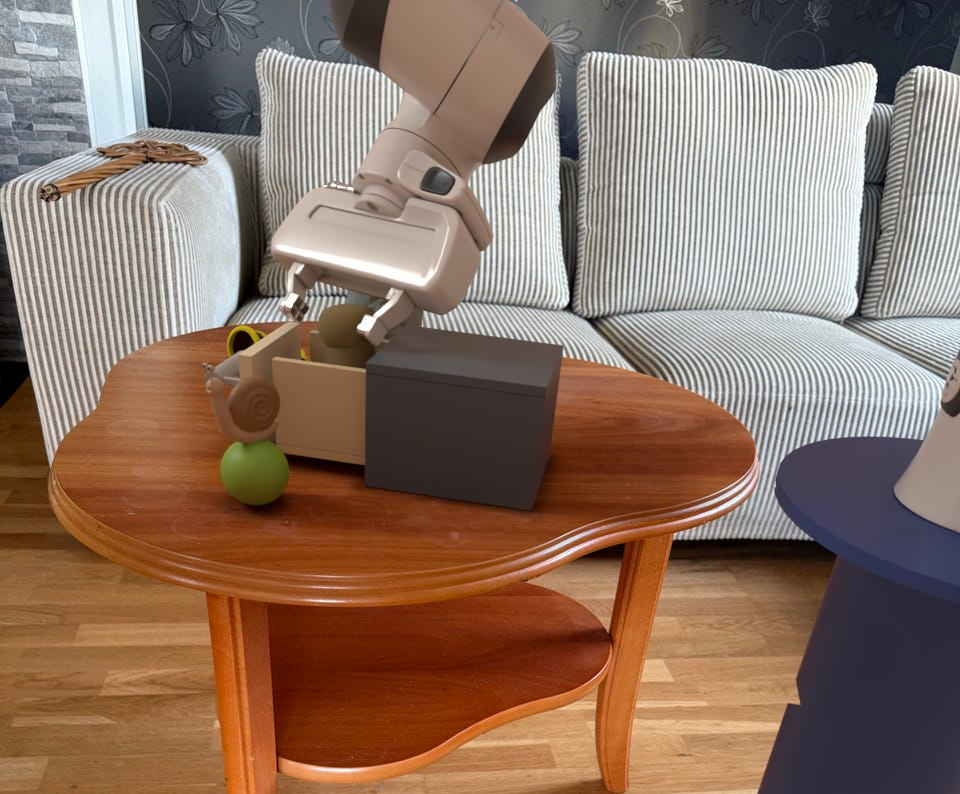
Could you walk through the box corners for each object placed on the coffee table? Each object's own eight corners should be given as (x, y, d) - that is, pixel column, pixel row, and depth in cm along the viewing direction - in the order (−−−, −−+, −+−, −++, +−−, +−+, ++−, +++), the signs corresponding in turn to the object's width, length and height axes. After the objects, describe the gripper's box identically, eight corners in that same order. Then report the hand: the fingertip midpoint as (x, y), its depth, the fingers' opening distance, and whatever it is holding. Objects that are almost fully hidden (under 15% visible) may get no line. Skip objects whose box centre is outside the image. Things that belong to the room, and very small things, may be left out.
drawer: (198, 448, 80) (188, 347, 75) (249, 407, 90) (243, 315, 85) (393, 477, 78) (396, 376, 73) (424, 432, 88) (428, 340, 83)
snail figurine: (199, 502, 73) (183, 354, 67) (264, 483, 77) (256, 341, 71) (238, 526, 70) (226, 374, 64) (304, 504, 74) (299, 359, 68)
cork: (358, 443, 78) (343, 309, 73) (312, 435, 82) (296, 307, 77) (406, 429, 82) (396, 301, 77) (361, 422, 86) (348, 299, 81)
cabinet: (364, 486, 78) (365, 362, 73) (401, 436, 89) (405, 324, 83) (531, 511, 77) (546, 387, 71) (549, 457, 87) (563, 345, 82)
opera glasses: (307, 392, 100) (314, 346, 98) (265, 389, 97) (271, 342, 94) (264, 368, 106) (270, 324, 104) (223, 364, 102) (228, 319, 100)
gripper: (302, 153, 81) (225, 280, 80) (481, 185, 71) (396, 331, 70) (339, 204, 87) (266, 324, 85) (509, 240, 77) (430, 376, 76)
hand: (326, 327), depth 78 cm, fingers open, 8 cm apart
